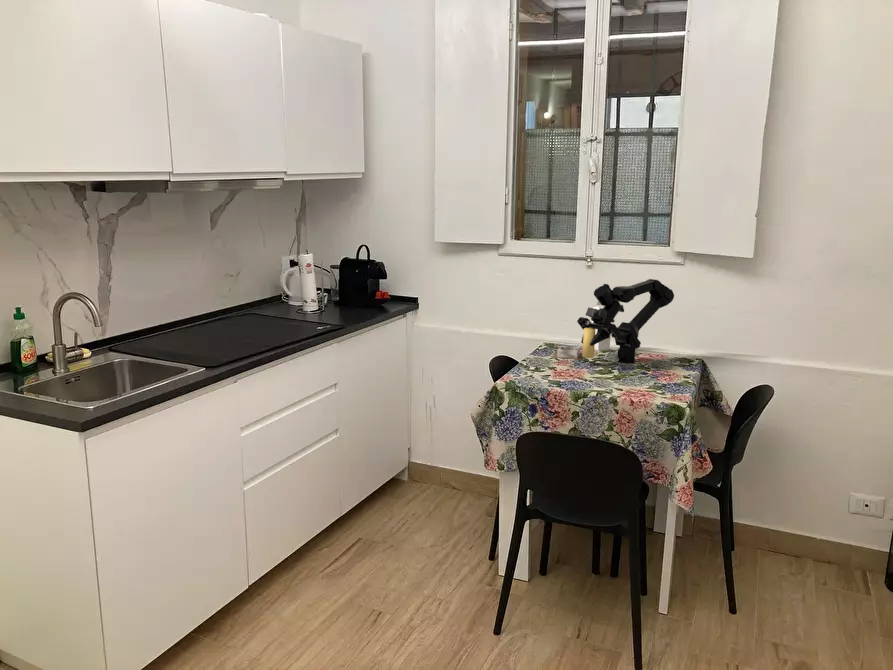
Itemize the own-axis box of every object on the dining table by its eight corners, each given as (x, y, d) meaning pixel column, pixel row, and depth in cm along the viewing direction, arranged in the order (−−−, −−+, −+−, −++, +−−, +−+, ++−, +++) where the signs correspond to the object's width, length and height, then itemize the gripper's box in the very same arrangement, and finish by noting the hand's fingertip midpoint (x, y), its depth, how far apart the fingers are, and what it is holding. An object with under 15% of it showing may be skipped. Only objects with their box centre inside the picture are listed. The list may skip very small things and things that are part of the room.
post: (589, 355, 279) (591, 327, 276) (596, 357, 275) (597, 329, 272) (580, 355, 277) (581, 328, 275) (586, 358, 273) (587, 330, 271)
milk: (609, 352, 304) (613, 301, 299) (597, 353, 301) (601, 302, 297) (600, 349, 309) (604, 299, 305) (589, 350, 307) (592, 300, 302)
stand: (584, 357, 294) (585, 346, 293) (581, 363, 283) (581, 352, 282) (555, 354, 298) (556, 344, 297) (551, 361, 286) (551, 350, 286)
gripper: (581, 296, 281) (559, 327, 277) (616, 303, 266) (593, 335, 262) (594, 314, 287) (573, 344, 283) (630, 322, 272) (607, 353, 268)
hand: (586, 344), depth 274 cm, fingers closed on post, 4 cm apart
